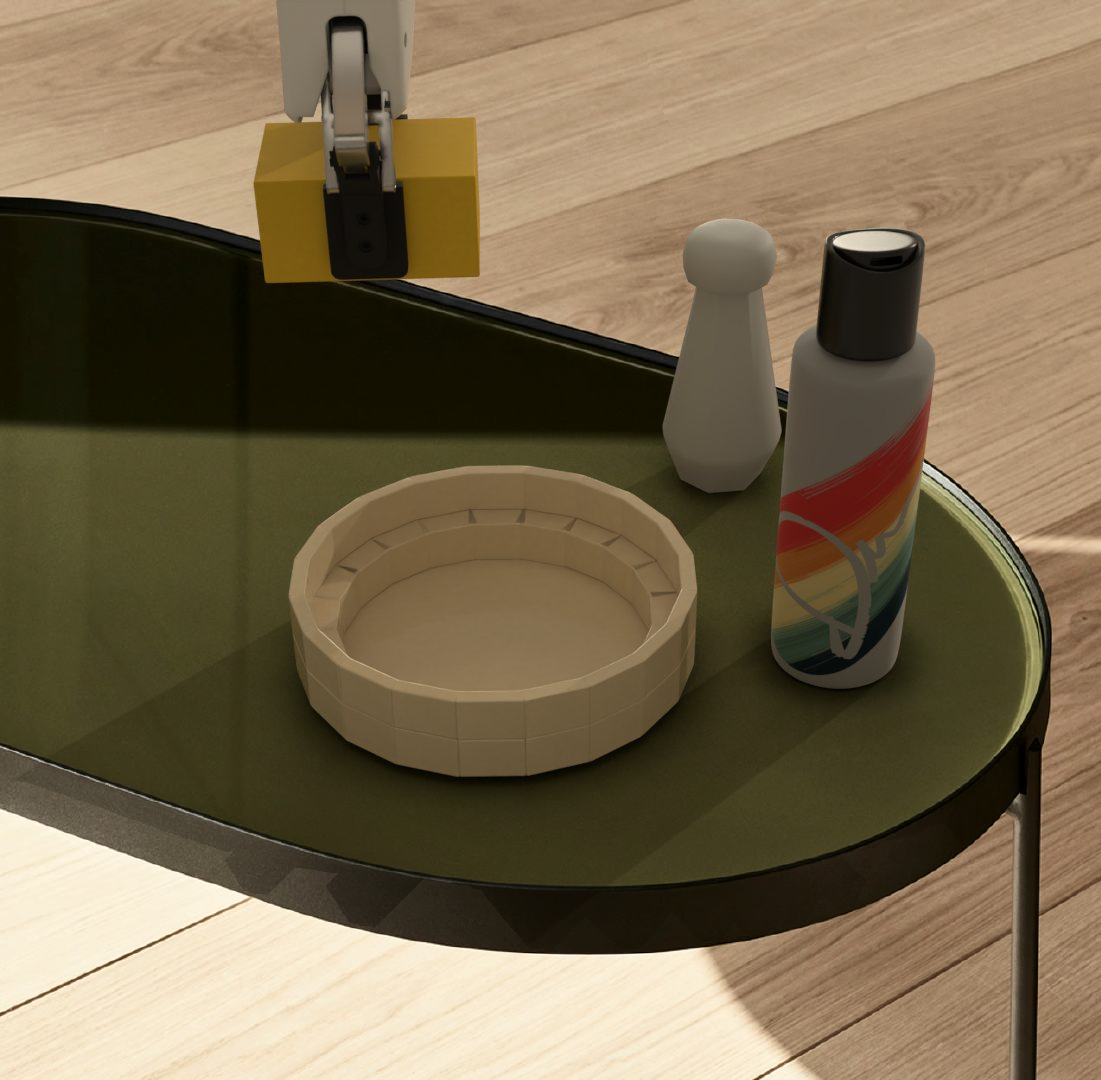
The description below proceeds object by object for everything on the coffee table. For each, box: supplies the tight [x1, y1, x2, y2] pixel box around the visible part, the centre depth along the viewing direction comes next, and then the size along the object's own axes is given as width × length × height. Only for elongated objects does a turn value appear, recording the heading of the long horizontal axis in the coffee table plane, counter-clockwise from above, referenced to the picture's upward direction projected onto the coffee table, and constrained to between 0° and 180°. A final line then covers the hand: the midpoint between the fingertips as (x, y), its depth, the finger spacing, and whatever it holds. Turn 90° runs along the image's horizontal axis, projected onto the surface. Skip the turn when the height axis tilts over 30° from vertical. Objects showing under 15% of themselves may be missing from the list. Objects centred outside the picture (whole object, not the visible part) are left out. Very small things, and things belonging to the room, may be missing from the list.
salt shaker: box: [662, 218, 783, 494], centre depth 96 cm, size 6×6×13 cm
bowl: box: [287, 464, 698, 778], centre depth 87 cm, size 17×17×4 cm
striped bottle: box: [770, 227, 936, 690], centre depth 82 cm, size 6×6×20 cm
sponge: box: [252, 116, 481, 284], centre depth 84 cm, size 9×6×4 cm, turn 92°
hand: (373, 235), depth 85 cm, fingers closed on sponge, 6 cm apart
